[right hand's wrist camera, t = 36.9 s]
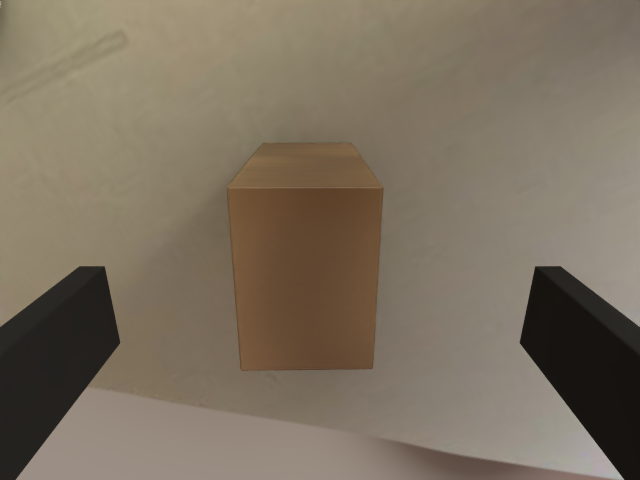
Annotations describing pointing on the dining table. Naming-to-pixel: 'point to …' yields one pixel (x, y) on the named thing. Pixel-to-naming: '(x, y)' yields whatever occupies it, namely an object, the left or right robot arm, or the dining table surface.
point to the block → (305, 257)
